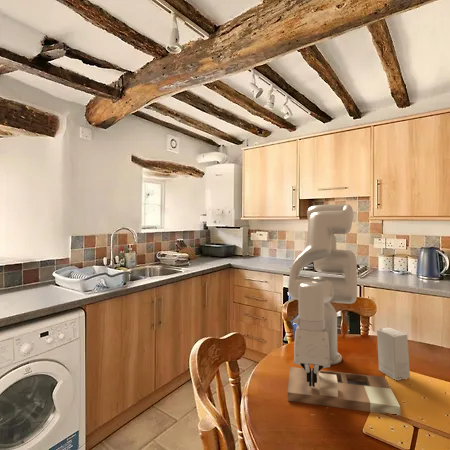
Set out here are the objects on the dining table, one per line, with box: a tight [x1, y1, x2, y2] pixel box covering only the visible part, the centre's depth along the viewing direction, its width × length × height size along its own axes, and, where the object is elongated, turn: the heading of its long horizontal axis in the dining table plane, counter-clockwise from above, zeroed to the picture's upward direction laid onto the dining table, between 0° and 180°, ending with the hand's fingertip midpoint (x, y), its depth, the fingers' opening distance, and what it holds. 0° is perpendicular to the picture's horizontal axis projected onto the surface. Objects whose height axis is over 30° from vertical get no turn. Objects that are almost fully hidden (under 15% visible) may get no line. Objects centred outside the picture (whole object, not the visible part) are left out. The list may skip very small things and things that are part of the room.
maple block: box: [319, 373, 338, 397], centre depth 89 cm, size 5×5×4 cm
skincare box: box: [376, 327, 411, 381], centre depth 103 cm, size 8×6×15 cm
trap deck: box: [287, 366, 401, 416], centre depth 93 cm, size 30×16×2 cm, turn 75°
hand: (311, 384), depth 91 cm, fingers closed
